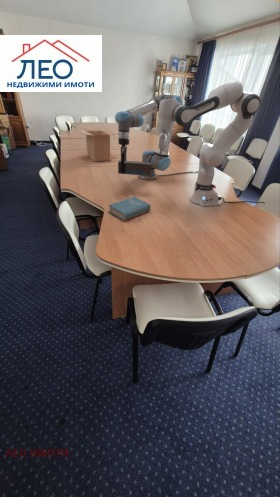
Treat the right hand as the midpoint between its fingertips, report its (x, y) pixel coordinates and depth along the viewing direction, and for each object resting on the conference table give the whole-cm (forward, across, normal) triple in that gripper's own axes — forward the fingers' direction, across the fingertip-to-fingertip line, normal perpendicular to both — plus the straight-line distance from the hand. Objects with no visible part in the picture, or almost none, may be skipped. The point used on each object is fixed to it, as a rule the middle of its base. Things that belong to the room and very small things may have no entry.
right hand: (161, 152), depth 144 cm
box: (+34, +96, +75) cm, 127 cm away
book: (+34, -22, +15) cm, 44 cm away
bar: (+19, +11, +19) cm, 29 cm away
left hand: (+19, +10, +27) cm, 35 cm away
